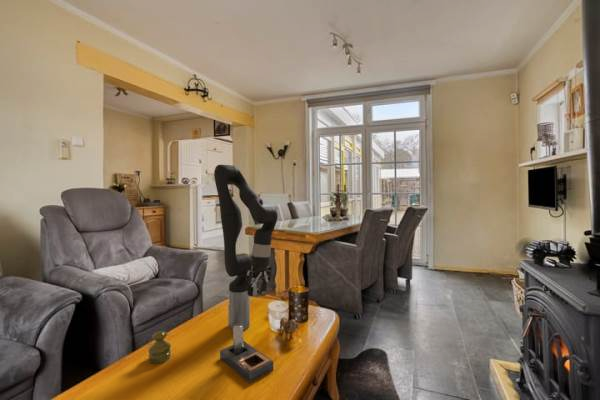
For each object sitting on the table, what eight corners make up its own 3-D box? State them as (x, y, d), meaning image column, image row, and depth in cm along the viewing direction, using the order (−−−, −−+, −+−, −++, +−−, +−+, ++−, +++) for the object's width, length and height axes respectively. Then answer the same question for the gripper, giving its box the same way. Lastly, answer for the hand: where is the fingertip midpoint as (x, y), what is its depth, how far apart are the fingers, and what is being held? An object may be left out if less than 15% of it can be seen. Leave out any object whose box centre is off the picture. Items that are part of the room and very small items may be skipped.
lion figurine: (300, 341, 118) (301, 320, 118) (289, 345, 115) (290, 323, 115) (283, 327, 130) (283, 307, 130) (272, 330, 127) (272, 310, 127)
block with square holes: (220, 358, 106) (220, 349, 106) (242, 348, 113) (242, 339, 113) (249, 382, 92) (249, 372, 92) (273, 369, 99) (273, 360, 99)
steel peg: (231, 357, 106) (231, 326, 106) (239, 354, 109) (239, 323, 108) (236, 362, 104) (236, 329, 103) (245, 358, 106) (245, 326, 106)
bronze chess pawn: (155, 352, 109) (155, 327, 109) (174, 353, 109) (174, 327, 109) (144, 364, 102) (143, 336, 102) (164, 364, 102) (164, 337, 102)
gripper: (264, 251, 126) (260, 287, 126) (242, 254, 114) (238, 294, 114) (278, 254, 122) (274, 292, 122) (257, 258, 110) (252, 300, 110)
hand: (256, 293), depth 118 cm, fingers open, 8 cm apart
